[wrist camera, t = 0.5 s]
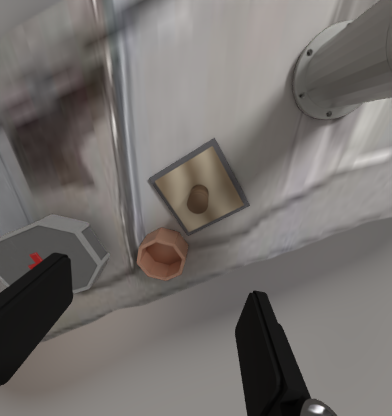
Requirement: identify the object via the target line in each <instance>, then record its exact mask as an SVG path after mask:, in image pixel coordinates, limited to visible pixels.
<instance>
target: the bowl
mask: <svg viewBox="0 0 392 416" xmlns="http://www.w3.org/2000/svg"><path fill="white" fill-rule="evenodd" d="M187 250H188V244H187V243H186V241H185V240H184V239H183V237H182V236H181V234H180V233H179V232H177V231H173V230H169V229H166V228H162V227H161V228H159V229H157V230H155V231H153V232H151V233H149V234H148V235H146V237H145V239H144V240H143V242H142V243H141V245H140V247H139V250H138V257H137V264H138V265H139V266H140V268H141V269H142V270H143V271H144V272H145V274H146V275H147V276H149V277H152V278H156V279H160V280H164V281H167V280H169V279H171V278H174V277H176V276H178V275H181V274H182V271H183V267H184V264H185V260H186V255H187Z"/></svg>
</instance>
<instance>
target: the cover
mask: <svg viewBox="0 0 392 416" xmlns="http://www.w3.org/2000/svg"><path fill="white" fill-rule="evenodd" d="M155 183H156V184H157V186H158V187H159V189H160V190H161V192H162V193H163V195H164V196H165V198H166V199H167V201H168V202H169V204H170V205H171V207H172V208H173V210H174V211H175V213H176V214H177V215H178V217H179V218H180V220H181V221H182V223H183V224H184V226H185V227H186V229H187V230H188V232H191V231H193V230H195V229H197V228H199V227H201V226H203V225H205V224H207V223H209V222H211V221H213V220H215V219H217V218H219V217H221V216H223V215H225V214H227V213H229V212H231V211H233V210H235V209H237V208H239V207H241V206H244V204H243V202H242V200H241V198H240V197H239V195H238V193H237V191H236V189H235V187H234V185H233V183H232V182H231V180H230V178H229V176H228V174H227V172H226V170H225V168H224V167H223V165H222V163H221V161H220V159H219V157H218V155H217V154H216V152H215V150H214V148H213V146H212V147H210V148H208V149H207V150H205V151H203V152H202V153H200V154H198V155H197V156H195V157H193V158H192V159H190V160H188V161H187V162H185V163H184V164H182V165H180V166H179V167H177V168H175V169H174V170H172V171H170V172H169V173H167V174H165V175H164V176H162V177H161V178H159V179H157V180H156V181H155Z"/></svg>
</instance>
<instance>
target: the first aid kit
mask: <svg viewBox="0 0 392 416" xmlns="http://www.w3.org/2000/svg"><path fill="white" fill-rule="evenodd" d="M55 252H56V253H61V254H66V255H68V258H70V259H71V271H72V288H73V294H74V293H77V292H81V291H84V290H87V289H89V288H90V287H91V286H92V285H93V283H94V282H95V281H96V279H97V278H98V277H99V275H100V273H101V271H102V270H103V268H104V266H105V264H106V262H107V260H108V259H109V257H110V254H109V253H108V252H107V251H106V250H105V248H104V247H103V245H102V244H101V242H100V241H99V240H98V238H97V237H96V235H95V234H94V232H93V231H92V229H91V228H90V224H89V223H88V222H85V221H81V220H76V219H72V218H68V217H63V216H59V215H54V214H51V215H49V216H47V217H45V218H43V219H41V220H39V221H37V222H35V223H32V224H30V225H27V226H25V227H23V228H20V229H18V230H16V231H11V232H9V233H7V234H5V235H3V236H1V237H0V281H1V282H2V283H3V284H4V285H5V286H6V287H8V286H10V285H11V284H12V283H14V282H15V281H16V280H18V279H19V278H20V277H22V276H23V275H24V274H26V273H27V272H28V271H30V270H31V269H32V268H33V267H35V266H36V265H37V264H39V263H40V262H41V261H43V260H44V259H45V258H47V257H48V256H49V255H51V254H52V253H55Z"/></svg>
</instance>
